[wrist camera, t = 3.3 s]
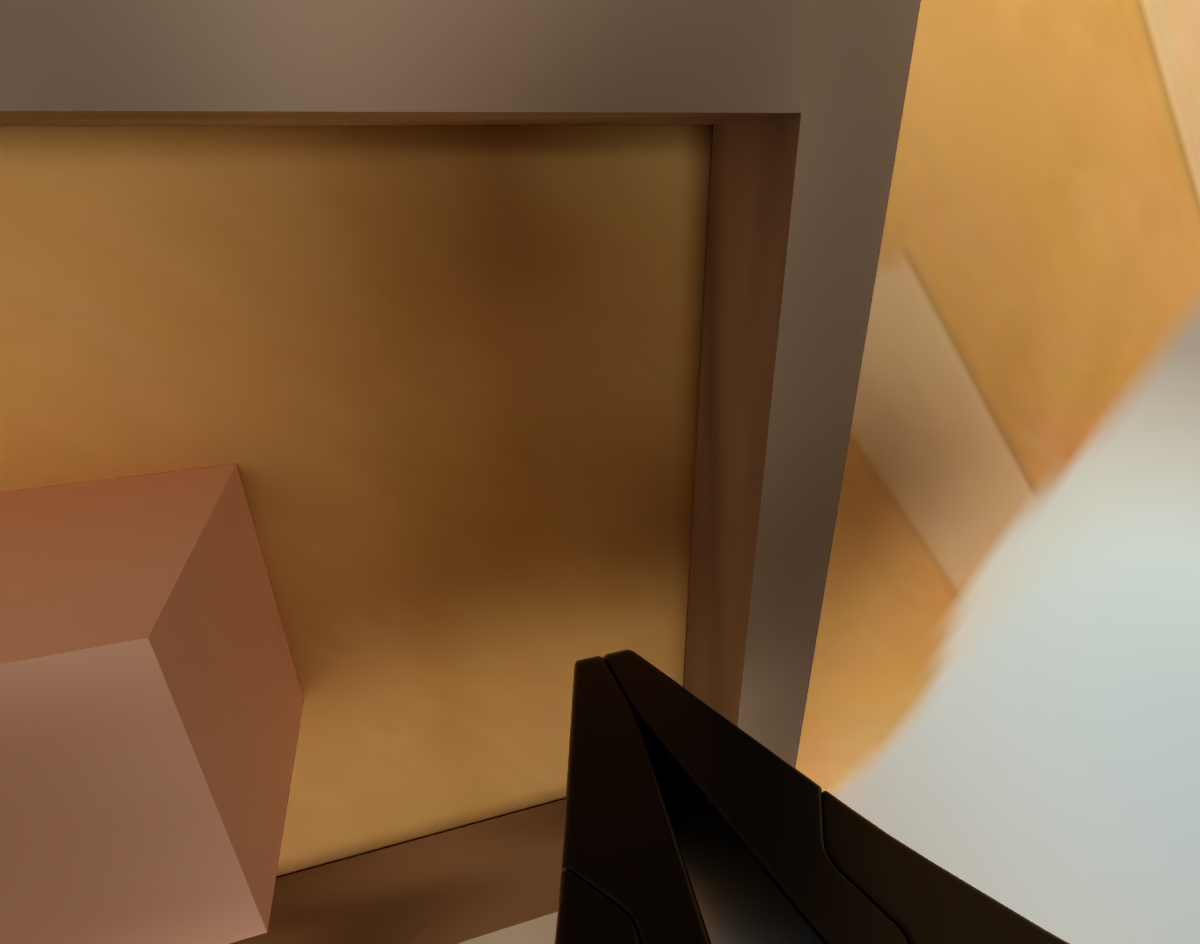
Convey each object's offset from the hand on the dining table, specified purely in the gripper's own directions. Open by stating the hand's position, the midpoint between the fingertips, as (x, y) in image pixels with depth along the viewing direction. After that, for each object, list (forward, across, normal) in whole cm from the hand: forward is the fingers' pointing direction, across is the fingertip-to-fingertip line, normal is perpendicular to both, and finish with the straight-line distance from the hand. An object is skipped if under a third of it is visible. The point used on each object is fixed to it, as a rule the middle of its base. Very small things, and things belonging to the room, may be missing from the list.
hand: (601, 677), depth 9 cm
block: (+4, +7, 0) cm, 8 cm away
